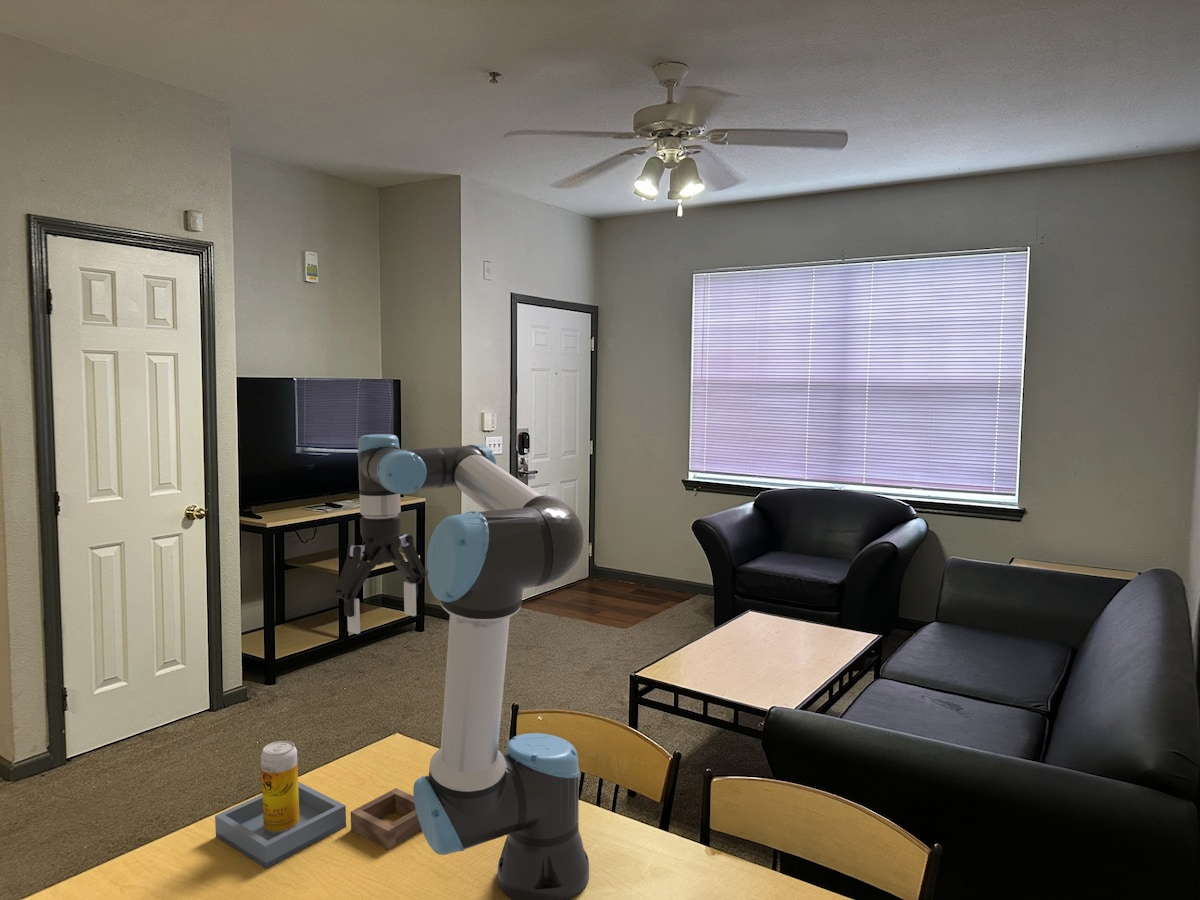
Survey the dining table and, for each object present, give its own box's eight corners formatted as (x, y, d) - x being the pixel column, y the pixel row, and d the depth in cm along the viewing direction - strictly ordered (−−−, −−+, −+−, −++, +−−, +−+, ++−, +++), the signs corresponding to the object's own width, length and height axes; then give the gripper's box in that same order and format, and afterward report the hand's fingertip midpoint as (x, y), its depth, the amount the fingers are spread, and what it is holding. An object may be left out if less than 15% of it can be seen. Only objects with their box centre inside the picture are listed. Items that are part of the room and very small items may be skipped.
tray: (346, 826, 150) (345, 805, 150) (266, 868, 137) (265, 846, 137) (295, 799, 159) (294, 779, 159) (215, 836, 147) (214, 815, 146)
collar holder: (433, 823, 151) (433, 805, 151) (388, 849, 143) (388, 830, 142) (396, 805, 157) (396, 788, 157) (351, 829, 149) (350, 811, 148)
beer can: (256, 832, 146) (252, 752, 145) (278, 815, 152) (275, 737, 150) (284, 838, 144) (281, 757, 143) (306, 820, 150) (303, 742, 149)
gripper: (417, 504, 168) (419, 605, 170) (311, 522, 148) (315, 636, 150) (442, 508, 164) (444, 611, 166) (337, 527, 144) (340, 644, 146)
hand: (383, 623), depth 158 cm, fingers open, 13 cm apart
